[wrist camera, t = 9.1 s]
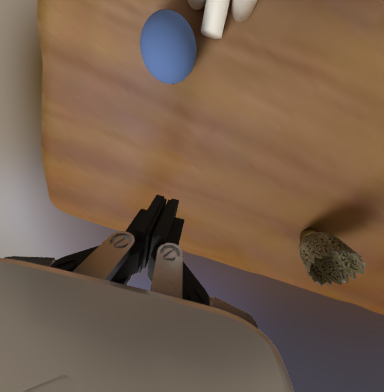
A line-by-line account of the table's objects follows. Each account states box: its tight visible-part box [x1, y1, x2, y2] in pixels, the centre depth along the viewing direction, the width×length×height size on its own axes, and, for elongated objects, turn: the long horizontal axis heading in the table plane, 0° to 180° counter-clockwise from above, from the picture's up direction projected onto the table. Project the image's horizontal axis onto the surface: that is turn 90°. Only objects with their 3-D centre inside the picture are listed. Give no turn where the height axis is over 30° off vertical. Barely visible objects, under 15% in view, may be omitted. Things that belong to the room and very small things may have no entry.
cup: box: [299, 229, 366, 286], centre depth 28 cm, size 8×7×8 cm
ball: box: [140, 9, 197, 84], centre depth 18 cm, size 6×6×6 cm
